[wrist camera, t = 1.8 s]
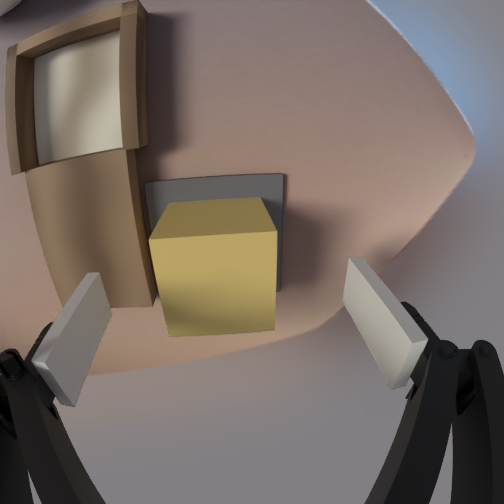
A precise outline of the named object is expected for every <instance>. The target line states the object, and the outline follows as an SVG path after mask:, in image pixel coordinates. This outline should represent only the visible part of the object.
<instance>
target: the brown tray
mask: <svg viewBox="0 0 504 504" xmlns="http://www.w3.org/2000/svg"><path fill="white" fill-rule="evenodd" d="M146 36H147V11H146V10H145V9H144V7H143V6H142V4H141V3H140V2H139V0H134V1H130V2H126V3H122V4H118V5H114V6H110V7H107V8H103V9H100V10H96V11H93V12H90V13H87V14H84V15H81V16H78V17H75V18H73V19H70V20H67V21H65V22H62V23H60V24H57V25H55V26H52V27H50V28H48V29H46V30H43V31H41V32H39V33H37V34H35V35H33V36H31V37H29V38H27V39H25V40H23V41H21V42H19V43H17V44H15V45H13V46H11V47H9V48H8V52H7V63H6V83H5V111H6V131H7V143H8V152H9V161H10V168H11V175H15V174H19V173H22V172H24V171H25V174H26V181H27V186H28V192H29V197H30V202H31V207H32V211H33V215H34V220H35V224H36V228H37V232H38V235H39V239H40V243H41V246H42V250H43V253H44V256H45V259H46V263H47V266H48V269H49V272H50V275H51V277H52V280H53V283H54V286H55V289H56V291H57V294H58V297H59V299H60V302H61V304H62V307H64V306H65V304H66V303H67V301H68V300H69V298H70V297H71V295H72V294H73V292H74V291H75V289H76V288H77V287H78V285H79V284H80V282H81V281H82V280H83V278H84V277H85V275H86V274H87V273H93V272H99V273H100V276H101V280H102V283H103V286H104V290H105V293H106V296H107V299H108V302H109V305H110V308H119V307H153V305H154V301H155V298H156V295H157V287H156V282H155V278H154V273H153V268H152V263H151V258H150V252H149V247H148V241H147V235H146V229H145V223H144V217H143V210H142V203H141V196H140V188H139V180H138V171H137V162H136V151H135V148H140V147H143V146H146V145H148V144H149V130H148V112H147V86H146ZM122 147H123V148H122ZM116 148H120V149H116ZM110 149H114V150H110ZM105 150H108V151H105ZM99 151H102V152H99ZM94 152H97V153H94ZM89 153H92V154H89ZM84 154H87V155H84ZM79 155H82V156H79ZM75 156H77V157H75ZM70 157H72V158H70ZM66 158H68V159H66ZM61 159H64V160H61ZM57 160H59V161H57ZM53 161H55V162H53ZM49 162H51V163H49ZM45 163H47V164H45ZM41 164H43V165H41Z"/></svg>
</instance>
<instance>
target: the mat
mask: <svg viewBox="0 0 504 504" xmlns="http://www.w3.org/2000/svg"><path fill="white" fill-rule="evenodd" d="M144 184H145V192H146V200H147V207H148V215H149V221H150V228H151V234H152V232H153V230H154V229H155V227H156V225H157V223H158V221H159V220H160V218H161V216H162V214H163V212H164V211H165V209H166V207H167V205H168V204H169V203H176V202H189V201H202V200H217V199H234V198H254V197H260V198H261V200H262V202H263V204H264V206H265V208H266V210H267V212H268V214H269V216H270V218H271V220H272V222H273V224H274V226H275V228H276V230H277V272H276V292H280V288H281V258H282V215H283V174H282V173H266V174H240V175H221V176H206V177H192V178H180V179H169V180H159V181H150V182H145V183H144Z"/></svg>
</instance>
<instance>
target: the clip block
mask: <svg viewBox="0 0 504 504" xmlns="http://www.w3.org/2000/svg"><path fill="white" fill-rule="evenodd" d="M149 245H150V251H151V256H152V261H153V267H154V272H155V277H156V281H157V286H158V291H159V295H160V300H161V304H162V308H163V313H164V317H165V321H166V325H167V329H168V333H169V337H180V336H204V335H222V334H237V333H250V332H261V331H272V330H275V308H276V272H277V230H276V228H275V226H274V224H273V222H272V220H271V218H270V216H269V214H268V212H267V210H266V208H265V206H264V204H263V202H262V200H261V198H260V197H254V198H234V199H217V200H202V201H189V202H176V203H169V204H168V205H167V207H166V209H165V211H164V212H163V214H162V216H161V218H160V220H159V221H158V223H157V225H156V227H155V229H154V230H153V232H152V234H151V236H150V238H149Z"/></svg>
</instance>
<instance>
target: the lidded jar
mask: <svg viewBox="0 0 504 504" xmlns="http://www.w3.org/2000/svg"><path fill="white" fill-rule="evenodd" d="M21 1H22V0H0V16H2V15H3V14H5V13H7V12H9V11H10V10H12V9H13V8H14V7H15V6H17V5H18V4H19V3H20V2H21Z"/></svg>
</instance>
